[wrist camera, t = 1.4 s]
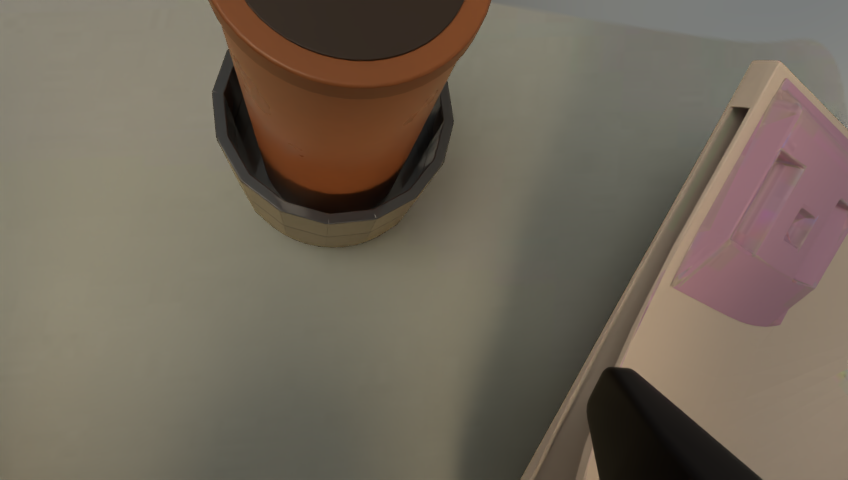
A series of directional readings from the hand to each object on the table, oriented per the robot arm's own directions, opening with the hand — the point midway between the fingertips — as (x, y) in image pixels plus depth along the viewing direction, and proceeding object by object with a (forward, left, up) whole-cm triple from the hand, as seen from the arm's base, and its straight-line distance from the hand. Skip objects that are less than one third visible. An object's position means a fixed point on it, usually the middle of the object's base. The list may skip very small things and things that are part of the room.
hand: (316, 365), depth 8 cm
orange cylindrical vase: (+7, +1, -13) cm, 15 cm away
